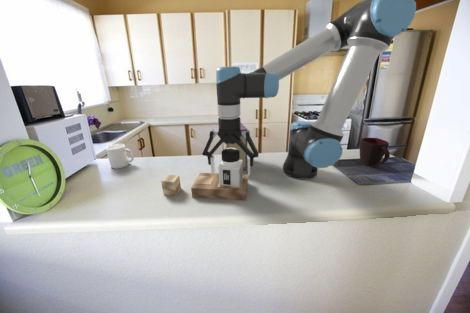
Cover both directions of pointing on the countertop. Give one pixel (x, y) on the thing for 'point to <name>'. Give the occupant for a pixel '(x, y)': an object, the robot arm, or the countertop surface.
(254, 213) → the countertop surface
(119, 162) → the cup
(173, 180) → the oak cube
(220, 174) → the container
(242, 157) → the box
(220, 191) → the base board
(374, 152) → the mug
